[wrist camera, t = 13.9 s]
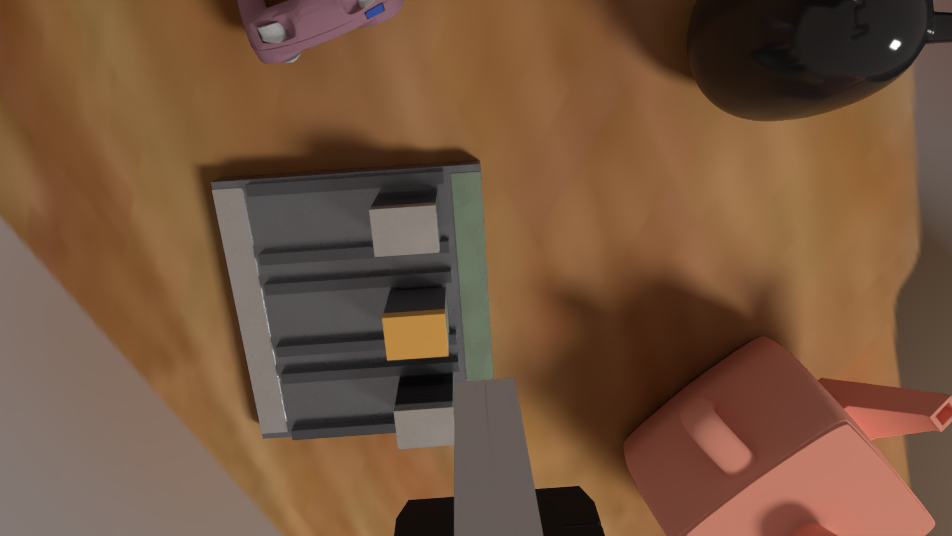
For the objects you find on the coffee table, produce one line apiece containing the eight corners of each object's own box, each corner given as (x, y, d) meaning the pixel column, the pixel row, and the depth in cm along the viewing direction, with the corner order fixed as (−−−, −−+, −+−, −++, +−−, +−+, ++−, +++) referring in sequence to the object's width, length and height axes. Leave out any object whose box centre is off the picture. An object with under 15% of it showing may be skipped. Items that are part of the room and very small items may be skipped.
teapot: (732, 558, 55) (819, 715, 42) (573, 403, 49) (616, 529, 36) (928, 422, 51) (1091, 549, 38) (779, 237, 45) (910, 311, 32)
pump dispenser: (807, 116, 43) (987, 146, 28) (658, 113, 42) (763, 143, 28) (839, -49, 39) (1060, -109, 25) (677, -54, 39) (807, -117, 25)
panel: (218, 178, 43) (180, 198, 37) (479, 160, 43) (483, 177, 37) (268, 427, 49) (243, 478, 43) (494, 411, 49) (500, 459, 43)
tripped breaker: (389, 291, 44) (381, 318, 39) (445, 287, 44) (444, 313, 39) (394, 329, 45) (387, 360, 40) (449, 325, 45) (448, 356, 40)
